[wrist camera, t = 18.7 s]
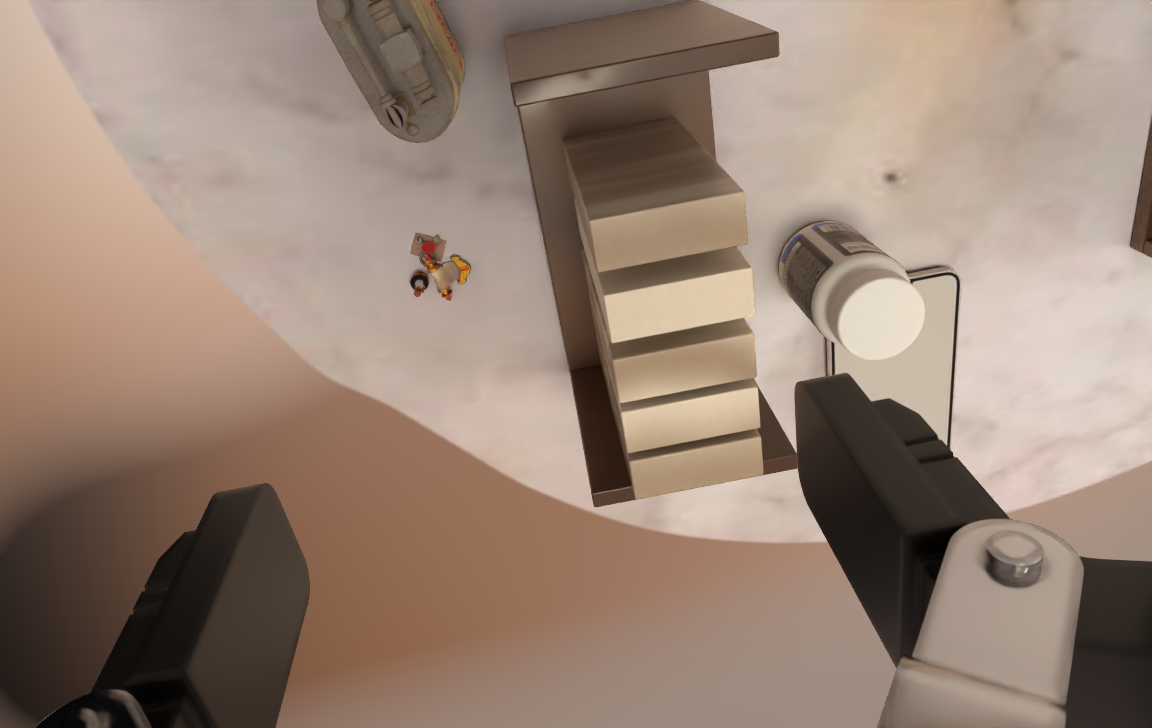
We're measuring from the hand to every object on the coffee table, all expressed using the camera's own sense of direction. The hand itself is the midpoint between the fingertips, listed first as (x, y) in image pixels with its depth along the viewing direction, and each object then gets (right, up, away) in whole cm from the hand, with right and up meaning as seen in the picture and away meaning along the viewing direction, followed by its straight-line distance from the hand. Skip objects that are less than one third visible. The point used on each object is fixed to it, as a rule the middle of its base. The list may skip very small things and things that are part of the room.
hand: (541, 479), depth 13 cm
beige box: (+3, +10, +28) cm, 30 cm away
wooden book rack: (+3, +10, +29) cm, 31 cm away
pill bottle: (+14, +7, +32) cm, 35 cm away
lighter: (-7, +17, +25) cm, 31 cm away
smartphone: (+19, 0, +36) cm, 41 cm away
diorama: (-7, +7, +30) cm, 32 cm away
